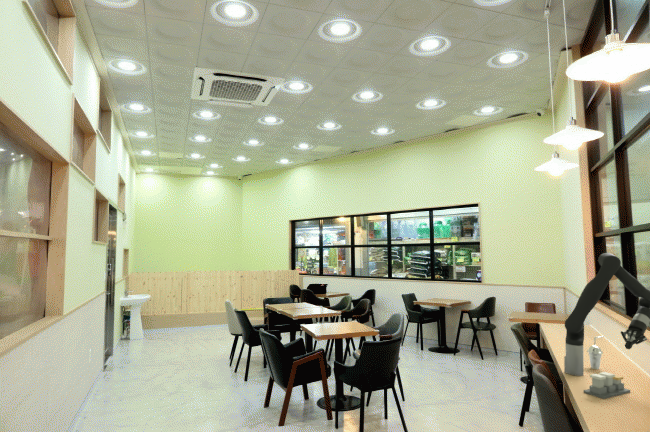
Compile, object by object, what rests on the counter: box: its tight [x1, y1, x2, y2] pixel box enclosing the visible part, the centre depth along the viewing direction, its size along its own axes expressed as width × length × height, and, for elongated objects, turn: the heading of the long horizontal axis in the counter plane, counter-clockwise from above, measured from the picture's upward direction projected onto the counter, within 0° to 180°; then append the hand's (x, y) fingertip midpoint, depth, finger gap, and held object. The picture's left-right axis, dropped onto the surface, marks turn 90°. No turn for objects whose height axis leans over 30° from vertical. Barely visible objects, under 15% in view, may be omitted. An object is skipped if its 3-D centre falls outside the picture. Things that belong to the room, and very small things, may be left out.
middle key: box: [598, 371, 616, 386], centre depth 225 cm, size 5×5×6 cm
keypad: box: [583, 382, 631, 400], centre depth 225 cm, size 24×10×4 cm, turn 118°
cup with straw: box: [586, 335, 605, 370], centre depth 271 cm, size 8×9×20 cm
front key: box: [589, 373, 606, 388], centre depth 222 cm, size 5×5×6 cm
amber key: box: [613, 374, 624, 384], centre depth 229 cm, size 5×5×6 cm
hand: (627, 348), depth 235 cm, fingers closed
